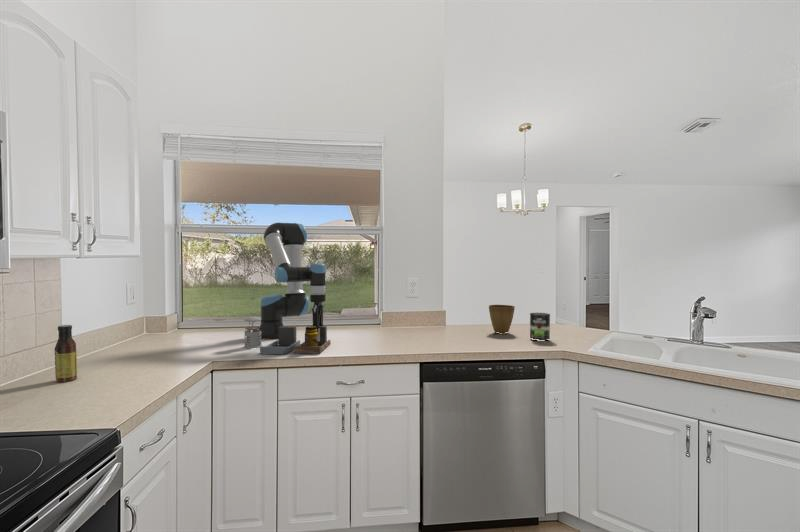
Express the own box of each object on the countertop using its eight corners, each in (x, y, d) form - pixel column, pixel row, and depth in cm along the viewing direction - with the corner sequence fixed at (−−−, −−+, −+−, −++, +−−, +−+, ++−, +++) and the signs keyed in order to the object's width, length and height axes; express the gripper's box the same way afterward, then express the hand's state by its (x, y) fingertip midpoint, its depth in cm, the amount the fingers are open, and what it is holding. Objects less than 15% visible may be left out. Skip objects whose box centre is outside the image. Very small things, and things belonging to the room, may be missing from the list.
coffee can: (549, 342, 227) (549, 315, 226) (528, 340, 230) (529, 314, 230) (550, 338, 236) (550, 313, 236) (530, 337, 240) (530, 312, 240)
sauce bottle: (63, 378, 158) (62, 324, 158) (81, 377, 159) (80, 323, 159) (50, 383, 152) (49, 326, 152) (69, 382, 152) (68, 326, 152)
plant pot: (484, 333, 252) (484, 306, 252) (494, 330, 265) (494, 304, 264) (509, 336, 244) (509, 307, 244) (518, 332, 256) (518, 305, 256)
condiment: (321, 352, 201) (320, 327, 201) (303, 355, 197) (303, 328, 197) (314, 350, 207) (314, 325, 207) (297, 352, 203) (297, 326, 203)
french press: (243, 350, 207) (243, 298, 207) (240, 345, 217) (240, 296, 217) (265, 348, 212) (264, 297, 211) (260, 344, 222) (260, 295, 222)
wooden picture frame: (307, 343, 220) (307, 326, 220) (330, 343, 220) (330, 326, 219) (293, 353, 198) (293, 333, 198) (319, 353, 197) (319, 333, 197)
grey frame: (277, 344, 219) (276, 326, 219) (300, 344, 218) (300, 326, 218) (260, 353, 197) (260, 333, 197) (286, 354, 196) (285, 334, 196)
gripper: (321, 295, 209) (321, 343, 210) (329, 292, 226) (329, 337, 226) (305, 295, 210) (306, 343, 210) (314, 292, 226) (315, 337, 227)
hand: (318, 340), depth 218 cm, fingers closed on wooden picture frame, 3 cm apart
